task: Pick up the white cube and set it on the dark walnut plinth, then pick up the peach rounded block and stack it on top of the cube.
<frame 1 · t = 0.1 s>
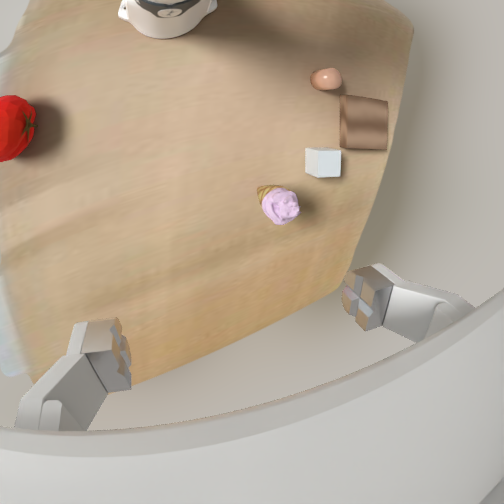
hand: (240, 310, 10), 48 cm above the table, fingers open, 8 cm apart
peach rounded block: (319, 80, 52), on the table
walnut plinth: (360, 122, 59), on the table
white cube: (316, 159, 60), on the table
tomato: (16, 127, 37), on the table
ice cream cone: (260, 191, 59), on the table
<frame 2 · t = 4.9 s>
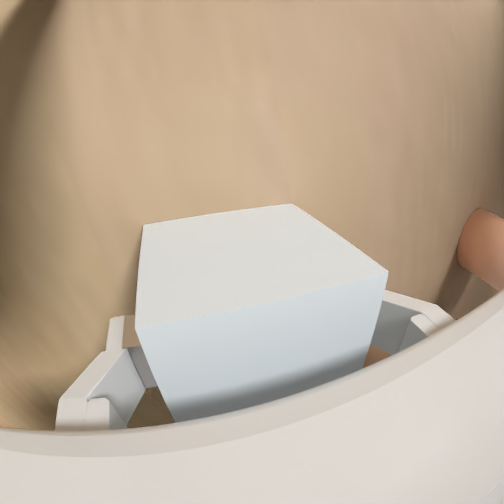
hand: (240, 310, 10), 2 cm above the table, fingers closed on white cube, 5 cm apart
peach rounded block: (473, 237, 16), on the table
walnut plinth: (358, 388, 19), on the table
white cube: (226, 279, 11), on the table, touching gripper
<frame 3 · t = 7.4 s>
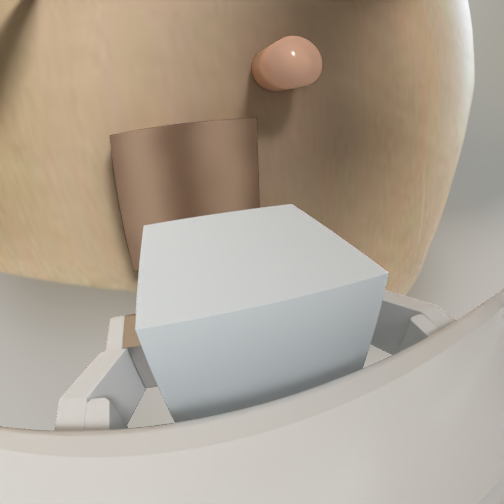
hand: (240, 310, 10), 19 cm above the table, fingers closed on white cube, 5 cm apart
peach rounded block: (274, 69, 23), on the table
walnut plinth: (186, 187, 26), on the table
white cube: (226, 279, 11), point 17 cm above the table, touching gripper
when the fingers open (6 cm above the table, at t = 10.3 s): white cube stays where it is, resting on walnut plinth.
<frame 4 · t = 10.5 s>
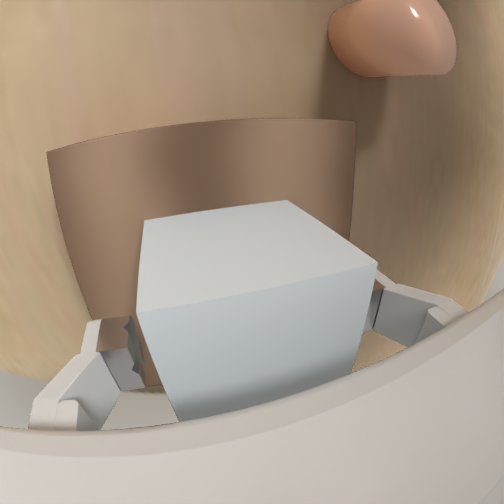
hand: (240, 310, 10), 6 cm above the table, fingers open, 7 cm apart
peach rounded block: (362, 40, 12), on the table
walnut plinth: (210, 245, 14), on the table
white cube: (224, 273, 12), point 3 cm above the table, touching walnut plinth
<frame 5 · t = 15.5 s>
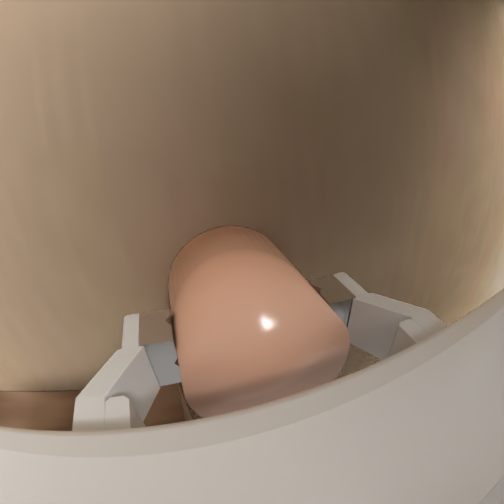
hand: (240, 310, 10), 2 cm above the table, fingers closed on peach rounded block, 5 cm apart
peach rounded block: (227, 282, 11), on the table, touching gripper
walnut plinth: (112, 443, 14), on the table
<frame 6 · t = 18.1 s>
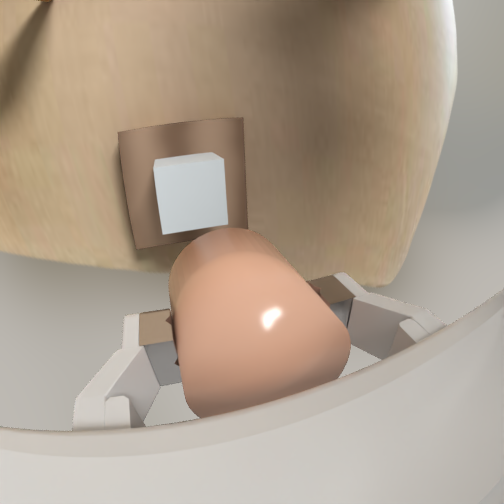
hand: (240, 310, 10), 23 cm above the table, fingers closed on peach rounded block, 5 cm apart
peach rounded block: (227, 283, 11), point 21 cm above the table, touching gripper
walnut plinth: (183, 177, 29), on the table
white cube: (186, 183, 27), point 3 cm above the table, touching walnut plinth
when the fingers open (11 cm above the table, at t = 21.2 s): peach rounded block stays where it is, resting on white cube.
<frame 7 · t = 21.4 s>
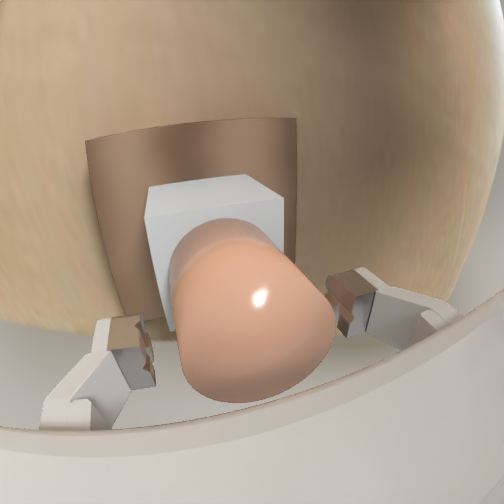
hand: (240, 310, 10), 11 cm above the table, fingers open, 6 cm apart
peach rounded block: (223, 270, 12), point 9 cm above the table, touching white cube
walnut plinth: (195, 211, 19), on the table
white cube: (202, 225, 17), point 3 cm above the table, touching peach rounded block, walnut plinth
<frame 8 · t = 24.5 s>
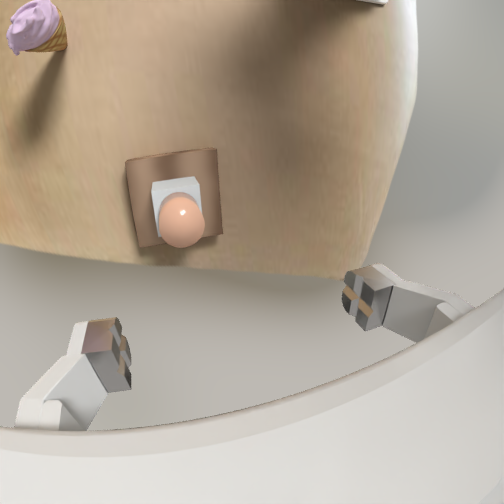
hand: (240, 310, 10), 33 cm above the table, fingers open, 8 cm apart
peach rounded block: (178, 211, 32), point 8 cm above the table, touching white cube
walnut plinth: (174, 194, 40), on the table
white cube: (175, 199, 37), point 3 cm above the table, touching peach rounded block, walnut plinth
ice cream cone: (61, 47, 25), on the table
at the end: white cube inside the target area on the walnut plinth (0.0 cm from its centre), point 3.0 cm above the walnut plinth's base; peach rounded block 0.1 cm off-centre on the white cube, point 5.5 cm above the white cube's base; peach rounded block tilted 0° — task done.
